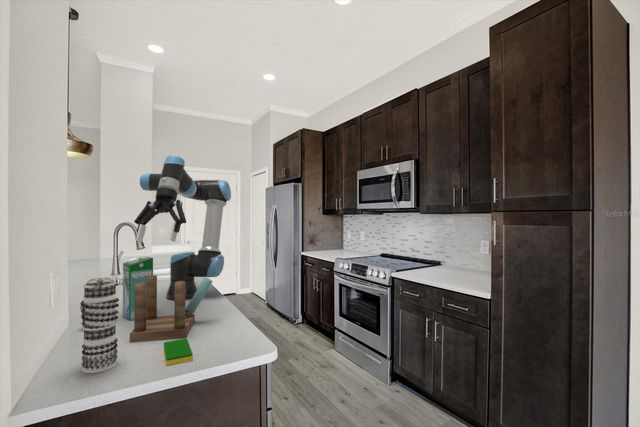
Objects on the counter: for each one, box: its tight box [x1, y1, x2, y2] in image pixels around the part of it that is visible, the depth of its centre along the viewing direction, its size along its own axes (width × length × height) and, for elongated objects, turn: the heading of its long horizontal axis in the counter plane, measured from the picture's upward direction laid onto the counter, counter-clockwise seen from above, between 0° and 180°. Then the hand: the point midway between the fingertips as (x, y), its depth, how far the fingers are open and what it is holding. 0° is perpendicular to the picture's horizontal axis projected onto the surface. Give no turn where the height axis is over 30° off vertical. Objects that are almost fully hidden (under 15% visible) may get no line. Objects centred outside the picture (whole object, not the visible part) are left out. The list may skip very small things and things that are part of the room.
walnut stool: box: [129, 274, 196, 343], centre depth 120 cm, size 19×18×19 cm
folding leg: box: [185, 277, 213, 314], centre depth 128 cm, size 4×4×14 cm
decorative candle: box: [79, 277, 120, 374], centre depth 92 cm, size 9×9×25 cm
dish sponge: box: [163, 338, 194, 366], centre depth 100 cm, size 7×14×2 cm, turn 29°
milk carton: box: [122, 255, 154, 322], centre depth 137 cm, size 9×9×25 cm
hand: (155, 241), depth 119 cm, fingers open, 13 cm apart
